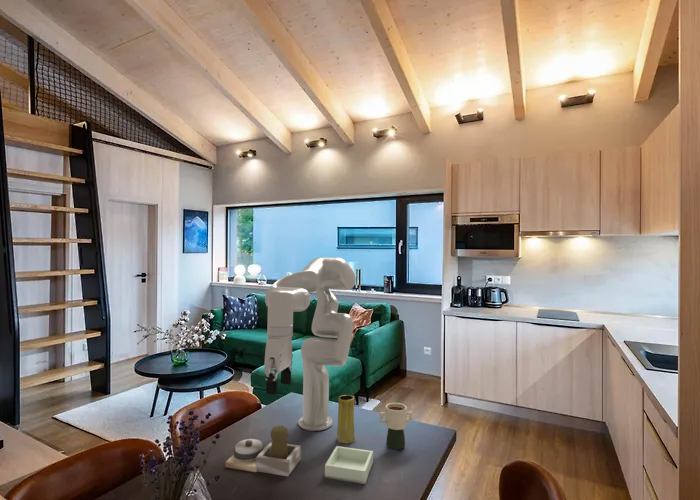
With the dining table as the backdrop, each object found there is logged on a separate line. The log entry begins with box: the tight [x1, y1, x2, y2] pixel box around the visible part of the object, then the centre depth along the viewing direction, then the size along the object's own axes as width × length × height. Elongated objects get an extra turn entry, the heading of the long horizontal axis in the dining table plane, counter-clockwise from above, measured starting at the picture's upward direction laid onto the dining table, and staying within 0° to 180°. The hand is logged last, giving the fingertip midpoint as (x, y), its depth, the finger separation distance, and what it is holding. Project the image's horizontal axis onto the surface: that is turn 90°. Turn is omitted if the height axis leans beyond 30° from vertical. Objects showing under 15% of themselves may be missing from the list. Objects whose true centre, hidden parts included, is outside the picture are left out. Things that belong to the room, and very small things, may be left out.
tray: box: [324, 445, 374, 485], centre depth 115 cm, size 12×12×4 cm
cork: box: [270, 425, 289, 459], centre depth 118 cm, size 6×6×11 cm
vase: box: [336, 394, 356, 445], centre depth 134 cm, size 6×6×14 cm
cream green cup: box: [379, 402, 413, 450], centre depth 130 cm, size 11×7×13 cm, turn 95°
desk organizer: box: [225, 438, 302, 477], centre depth 119 cm, size 11×20×6 cm, turn 76°
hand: (279, 388), depth 118 cm, fingers open, 9 cm apart
